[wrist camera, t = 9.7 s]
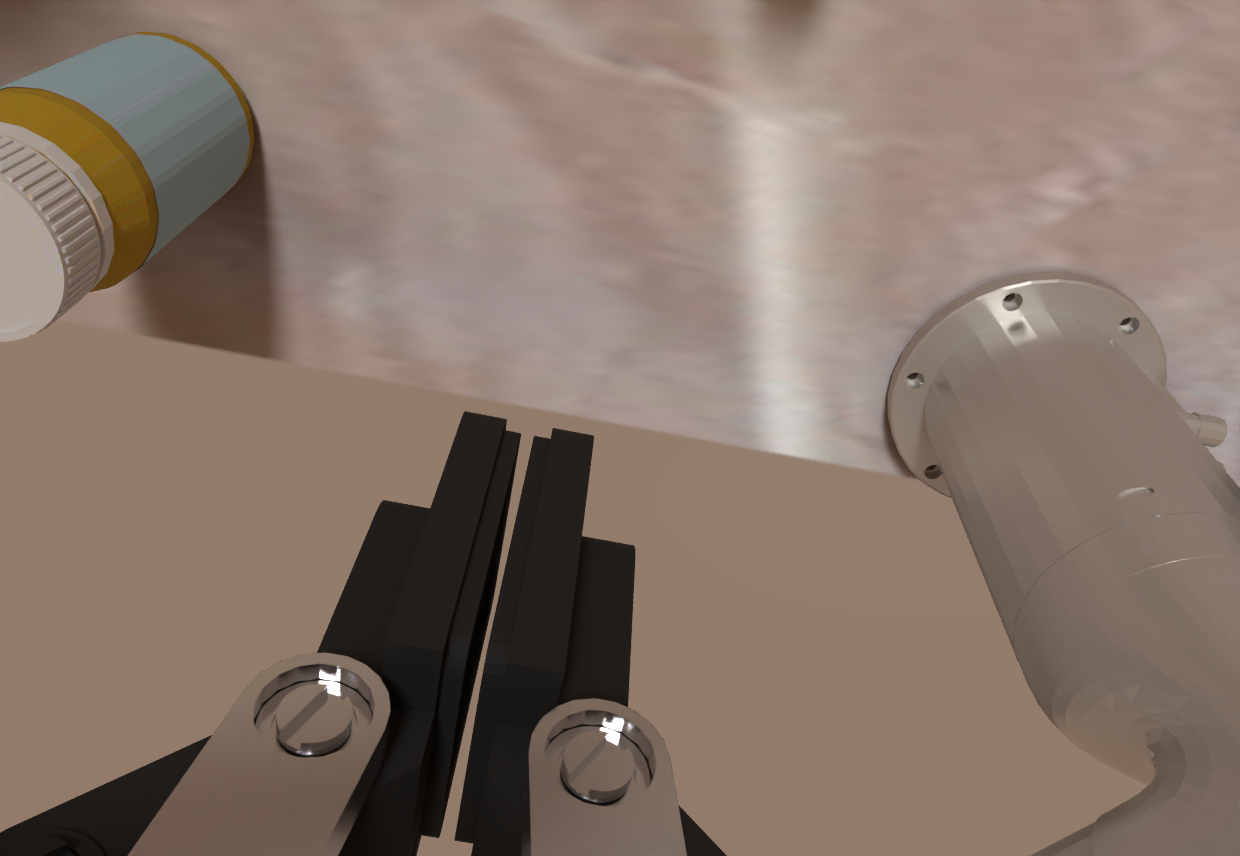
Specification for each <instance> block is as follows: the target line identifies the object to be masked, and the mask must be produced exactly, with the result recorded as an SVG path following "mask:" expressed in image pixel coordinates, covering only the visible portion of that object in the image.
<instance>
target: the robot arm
mask: <svg viewBox="0 0 1240 856" xmlns="http://www.w3.org/2000/svg"><path fill="white" fill-rule="evenodd" d="M1011 293H1012V294H1011ZM1009 294H1011V295H1010V296H1009V297H1007V298H1005V297H1006V296H1007V295H1009ZM912 373H914V374H912ZM910 374H912V375H910ZM1166 379H1167V372H1166V355H1165V352H1164V349H1163V345H1162V342H1161V339H1160V336H1159V334H1158V333H1157V331H1156V329H1155V328H1154V326H1153V325H1152V323H1151V321H1150V320H1149V318H1148V317H1147V316H1146V315H1145V314H1144V313H1143V311H1142V310H1141V309H1140V308H1139V307H1138V306H1137V305H1136V304H1135V303H1134V302H1133V301H1132V300H1131V299H1129V298H1128V297H1126V296H1125V295H1124V294H1122V293H1121V292H1120V291H1118V290H1117V289H1116V288H1114V287H1112V286H1109V285H1107V284H1105V283H1102V282H1100V281H1098V280H1096V279H1093V278H1090V277H1085V276H1080V275H1075V274H1071V273H1060V272H1036V273H1029V274H1023V275H1016V276H1010V277H1007V278H1004V279H1001V280H998V281H994V282H991V283H988V284H985V285H983V286H981V287H979V288H977V289H975V290H973V291H970V292H968V293H966V294H964V295H962V296H960V297H958V298H957V299H956V300H954V301H953V302H951V303H950V304H949V305H947V306H946V307H944V308H943V309H942V310H940V311H939V312H937V313H936V314H935V315H934V316H933V317H932V318H931V319H930V320H929V321H928V322H927V323H926V324H925V325H924V326H923V327H922V328H921V329H920V330H919V331H918V332H917V333H916V334H915V336H914V337H913V338H912V340H911V341H910V343H909V344H908V345H907V347H906V348H905V350H904V351H903V353H902V355H901V357H900V359H899V361H898V363H897V365H896V368H895V370H894V372H893V374H892V379H891V383H890V387H889V391H888V406H887V416H888V421H889V425H890V429H891V434H892V437H893V439H894V442H895V444H896V447H897V449H898V452H899V454H900V456H901V457H902V459H903V460H904V462H905V463H906V465H907V466H908V468H909V469H910V470H911V471H912V472H913V473H914V474H915V475H916V476H917V477H918V478H919V479H920V480H921V481H922V482H923V483H924V484H926V485H928V486H929V487H931V488H933V489H934V490H936V491H938V492H939V493H941V494H943V495H945V496H948V497H951V498H952V499H953V502H954V504H955V507H956V509H957V511H958V514H959V516H960V519H961V521H962V524H963V526H964V529H965V531H966V534H967V536H968V539H969V541H970V544H971V546H972V549H973V551H974V554H975V556H976V558H977V561H978V564H979V566H980V568H981V571H982V573H983V576H984V578H985V581H986V583H987V586H988V588H989V591H990V593H991V596H992V598H993V601H994V603H995V606H996V608H997V611H998V613H999V615H1000V618H1001V620H1002V623H1003V625H1004V628H1005V630H1006V633H1007V635H1008V638H1009V640H1010V643H1011V645H1012V648H1013V650H1014V653H1015V655H1016V658H1017V660H1018V662H1019V663H1020V666H1021V669H1022V671H1023V674H1024V676H1025V678H1026V681H1027V683H1028V685H1029V687H1030V689H1031V691H1032V693H1033V695H1034V697H1035V699H1036V701H1037V703H1038V704H1039V706H1040V707H1041V708H1042V710H1043V711H1044V713H1045V714H1046V715H1047V717H1048V718H1049V719H1050V721H1051V722H1052V723H1053V724H1054V725H1055V726H1056V727H1057V728H1058V729H1059V730H1060V731H1061V732H1062V733H1063V734H1064V735H1065V736H1066V737H1067V738H1068V739H1070V741H1072V742H1073V743H1074V744H1075V745H1077V746H1078V747H1079V748H1081V749H1082V750H1084V751H1085V752H1087V753H1088V754H1090V755H1091V756H1093V757H1094V758H1096V759H1097V760H1099V761H1101V762H1102V763H1104V764H1106V765H1108V766H1110V767H1111V768H1114V769H1116V770H1118V771H1120V772H1122V773H1124V774H1126V775H1128V776H1130V777H1132V778H1134V779H1136V780H1138V781H1140V782H1143V783H1145V784H1147V785H1148V786H1147V787H1146V788H1145V789H1143V790H1142V791H1141V792H1140V793H1139V794H1138V795H1136V796H1134V797H1132V798H1131V799H1129V800H1127V801H1126V802H1124V803H1122V804H1120V805H1119V806H1117V807H1115V808H1113V809H1112V810H1110V811H1108V812H1106V813H1104V814H1102V815H1101V816H1100V817H1099V818H1098V819H1097V820H1096V822H1094V823H1092V824H1090V825H1088V826H1086V827H1084V828H1082V829H1080V830H1078V831H1077V832H1074V833H1073V834H1071V835H1069V836H1067V837H1065V838H1063V839H1061V840H1059V841H1057V842H1055V843H1053V844H1051V845H1050V846H1048V847H1046V848H1044V849H1042V850H1040V851H1038V852H1036V853H1034V854H1032V855H1030V856H1240V488H1239V486H1238V485H1237V484H1236V483H1235V482H1234V480H1233V479H1232V478H1231V477H1230V476H1229V474H1228V473H1227V472H1226V470H1225V468H1224V465H1223V464H1222V463H1220V462H1219V461H1217V460H1216V459H1215V458H1214V456H1213V455H1212V454H1211V453H1210V452H1209V450H1208V449H1207V448H1206V447H1205V446H1210V447H1215V446H1219V445H1220V444H1221V443H1222V442H1223V441H1224V439H1225V436H1226V434H1227V425H1226V423H1225V420H1223V419H1221V418H1219V417H1214V416H1209V415H1204V414H1199V413H1192V414H1191V413H1186V412H1185V411H1184V409H1183V408H1182V407H1181V406H1180V405H1179V403H1178V402H1177V401H1176V400H1175V399H1174V398H1173V396H1172V395H1171V394H1170V393H1169V392H1168V391H1167V389H1166V388H1165V385H1166ZM506 422H507V421H506V419H503V418H498V417H492V416H487V415H481V414H476V413H471V412H466V411H465V412H464V413H463V416H462V419H461V422H460V424H459V427H458V430H457V433H456V436H455V439H454V442H453V445H452V447H451V450H450V453H449V456H448V459H447V462H446V465H445V468H444V471H443V473H442V477H441V480H440V482H439V485H438V488H437V491H436V494H435V497H434V500H433V503H432V505H431V508H424V507H419V506H413V505H408V504H402V503H397V502H391V501H386V500H383V501H382V502H381V503H380V505H379V507H378V509H377V512H376V514H375V516H374V518H373V521H372V523H371V526H370V528H369V530H368V533H367V535H366V537H365V540H364V542H363V545H362V547H361V550H360V552H359V554H358V556H357V559H356V561H355V564H354V566H353V569H352V571H351V574H350V576H349V579H348V580H347V583H346V585H345V587H344V590H343V592H342V595H341V597H340V599H339V602H338V604H337V607H336V609H335V611H334V614H333V616H332V618H331V621H330V623H329V626H328V628H327V630H326V633H325V635H324V637H323V640H322V642H321V645H320V647H319V650H318V652H317V653H310V654H301V655H297V656H294V657H291V658H288V659H284V660H281V661H279V662H277V663H275V664H274V665H272V666H270V667H269V668H267V669H265V670H264V671H262V672H261V673H260V674H258V676H256V677H255V679H254V680H253V681H252V682H251V683H250V684H249V685H248V686H247V687H246V688H245V689H244V691H243V692H242V694H241V695H240V696H239V698H238V699H237V701H236V703H235V704H234V705H233V706H232V708H231V709H230V711H229V712H228V714H227V715H226V716H225V718H224V719H223V721H222V722H221V724H220V725H219V727H218V728H217V729H216V731H215V732H214V733H213V735H211V736H209V737H207V738H205V739H202V740H200V741H198V742H196V743H193V744H191V745H189V746H187V747H185V748H183V749H180V750H178V751H176V752H174V753H172V754H170V755H167V756H165V757H163V758H161V759H159V760H156V761H154V762H152V763H150V764H148V765H146V766H143V767H141V768H139V769H137V770H135V771H132V772H130V773H128V774H126V775H124V776H121V777H119V778H117V779H115V780H113V781H111V782H108V783H106V784H104V785H102V786H100V787H98V788H95V789H93V790H91V791H89V792H87V793H85V794H82V795H80V796H78V797H76V798H74V799H71V800H69V801H67V802H65V803H63V804H60V805H58V806H56V807H54V808H52V809H50V810H47V811H45V812H43V813H41V814H39V815H37V816H34V817H32V818H30V819H28V820H26V821H24V822H21V823H19V824H17V825H15V826H13V827H10V828H8V829H6V830H4V831H3V832H1V833H0V856H416V855H417V851H418V847H419V843H420V839H421V835H423V836H430V837H436V838H439V836H440V833H441V829H442V825H443V821H444V816H445V812H446V807H447V803H448V798H449V794H450V789H451V785H452V781H453V776H454V772H455V767H456V763H457V758H458V754H459V750H460V745H461V741H462V736H463V732H464V728H465V723H466V719H467V714H468V710H469V705H470V701H471V697H472V692H473V687H474V683H475V679H476V674H477V670H478V666H479V661H480V657H481V652H482V648H483V643H484V639H485V635H486V630H487V626H488V621H489V616H490V612H491V607H492V603H493V598H494V592H495V586H496V581H497V575H498V569H499V563H500V557H501V551H502V545H503V539H504V533H505V527H506V521H507V515H508V509H509V503H510V497H511V491H512V486H513V480H514V473H515V467H516V461H517V456H518V450H519V444H520V437H521V433H516V432H511V431H506ZM593 442H594V436H593V435H588V434H582V433H577V432H572V431H566V430H561V429H556V428H553V430H552V435H551V439H548V438H542V437H538V436H534V439H533V444H532V448H531V453H530V458H529V462H528V466H527V471H526V475H525V480H524V485H523V489H522V494H521V498H520V503H519V507H518V512H517V516H516V522H515V525H514V530H513V535H512V540H511V544H510V548H509V553H508V557H507V562H506V566H505V571H504V576H503V580H502V585H501V589H500V594H499V599H498V603H497V608H496V612H495V616H494V621H493V626H492V630H491V635H490V640H489V644H488V649H487V654H486V659H485V664H484V670H483V675H482V681H481V687H480V693H479V699H478V704H477V711H476V716H475V723H474V728H473V734H472V740H471V746H470V752H469V758H468V764H467V769H466V775H465V781H464V787H463V793H462V799H461V805H460V811H459V817H458V823H457V829H456V834H455V841H461V842H468V843H473V849H472V854H471V856H726V855H725V853H724V852H723V851H722V850H721V849H720V848H719V847H718V846H717V845H716V844H715V843H714V842H713V841H712V840H711V839H710V838H709V837H708V836H707V835H706V833H705V832H704V831H703V830H702V829H701V828H700V827H699V826H698V825H697V824H696V823H695V822H694V821H693V820H692V819H691V818H690V817H689V816H688V815H687V814H686V812H685V811H684V810H683V809H682V808H681V807H680V806H679V805H678V800H677V794H676V788H675V782H674V777H673V770H672V764H671V759H670V756H669V753H668V750H667V747H666V744H665V741H664V739H663V738H662V737H661V735H660V734H659V733H658V731H657V730H656V729H655V727H654V726H653V725H652V724H651V723H650V722H649V721H648V720H647V719H645V718H644V717H642V716H641V715H640V714H639V713H638V712H636V711H635V710H632V709H630V708H628V694H629V674H630V654H631V633H632V613H633V593H634V573H635V547H634V546H633V545H627V544H622V543H616V542H611V541H606V540H600V539H595V538H589V537H583V536H582V530H583V522H584V514H585V506H586V498H587V490H588V482H589V474H590V466H591V458H592V450H593ZM1204 445H1205V446H1204Z"/></svg>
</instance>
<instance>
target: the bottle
mask: <svg viewBox="0 0 1240 856" xmlns="http://www.w3.org/2000/svg"><path fill="white" fill-rule="evenodd" d="M253 146H254V129H253V122H252V116H251V112H250V109H249V107H248V105H247V102H246V100H245V98H244V96H243V93H242V91H241V89H240V88H239V86H238V84H237V83H236V82H235V81H234V79H233V78H232V77H231V76H230V74H229V73H228V72H227V71H226V69H225V68H224V67H223V66H222V65H221V64H220V63H219V62H218V61H217V60H216V59H214V58H213V57H212V56H210V55H209V54H208V53H206V52H205V51H204V50H203V49H201V48H200V47H198V46H196V45H195V44H193V43H191V42H188V41H186V40H183V39H181V38H178V37H176V36H173V35H169V34H165V33H153V32H139V33H135V34H132V35H128V36H124V37H121V38H118V39H114V40H111V41H109V42H107V43H104V44H102V45H99V46H97V47H95V48H92V49H90V50H87V51H85V52H83V53H80V54H78V55H76V56H73V57H71V58H68V59H66V60H64V61H61V62H59V63H56V64H54V65H52V66H49V67H47V68H44V69H42V70H40V71H37V72H35V73H32V74H30V75H28V76H25V77H23V78H20V79H18V80H16V81H13V82H11V83H8V84H6V85H4V86H1V87H0V342H5V341H13V340H18V339H22V338H25V337H28V336H32V335H33V334H35V333H39V332H41V331H42V330H43V329H45V328H47V327H48V326H50V325H51V324H52V323H54V322H55V321H56V320H57V319H58V318H60V317H61V316H62V315H63V314H64V313H66V312H67V311H68V310H69V309H70V308H72V307H73V306H74V305H75V304H76V303H78V302H79V301H80V300H81V299H82V298H83V297H84V296H85V295H86V294H87V293H89V292H93V291H97V290H101V289H106V288H109V287H112V286H114V285H116V284H117V283H119V282H120V281H122V280H123V279H125V278H126V277H128V276H129V275H130V274H132V273H133V272H135V271H136V270H137V269H139V268H140V267H141V266H142V265H144V264H145V263H146V262H147V261H148V260H149V259H151V258H152V257H153V256H154V255H155V254H156V253H157V252H159V251H160V250H161V249H162V248H163V247H164V246H166V245H167V244H168V243H169V242H170V241H171V240H172V239H174V238H175V237H176V236H177V235H178V234H179V233H181V232H182V231H183V230H184V229H185V228H186V227H187V226H189V225H190V224H191V223H192V222H193V221H194V220H196V219H197V218H198V217H199V216H200V215H201V214H202V213H204V212H205V211H206V210H207V209H208V208H209V207H211V206H212V205H213V204H214V203H215V202H216V201H217V200H219V199H220V198H221V197H222V196H223V195H224V194H226V193H227V192H228V191H229V190H230V189H231V188H232V187H233V186H234V185H235V184H236V183H237V182H238V181H239V180H240V178H241V177H242V175H243V174H244V172H245V170H246V169H247V167H248V166H249V163H250V161H251V157H252V152H253Z"/></svg>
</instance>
